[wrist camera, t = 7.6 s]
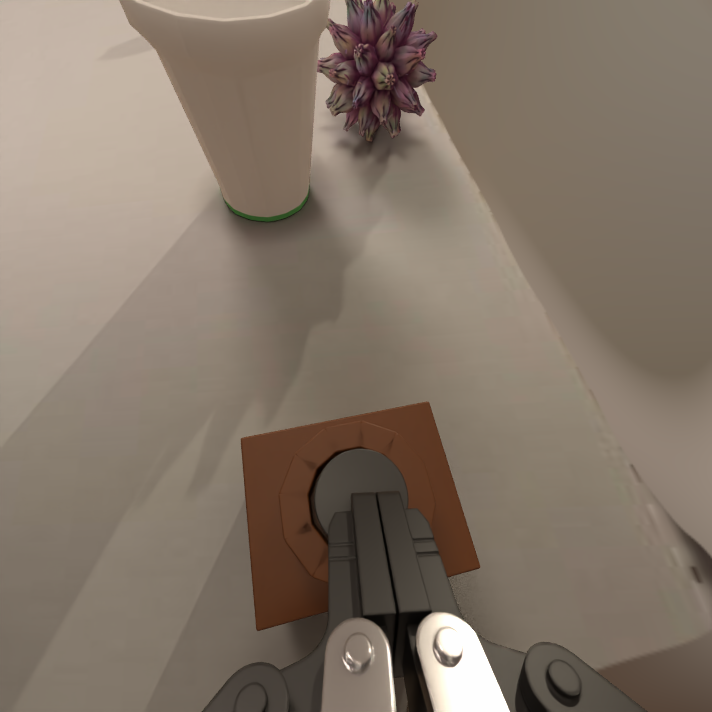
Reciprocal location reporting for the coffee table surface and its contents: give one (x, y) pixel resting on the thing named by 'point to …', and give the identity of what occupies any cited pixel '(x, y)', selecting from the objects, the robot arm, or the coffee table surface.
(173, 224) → the coffee table surface
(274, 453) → the brown block with collar
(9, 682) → the coffee table surface
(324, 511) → the grey round disc
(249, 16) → the cup
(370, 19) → the flower
